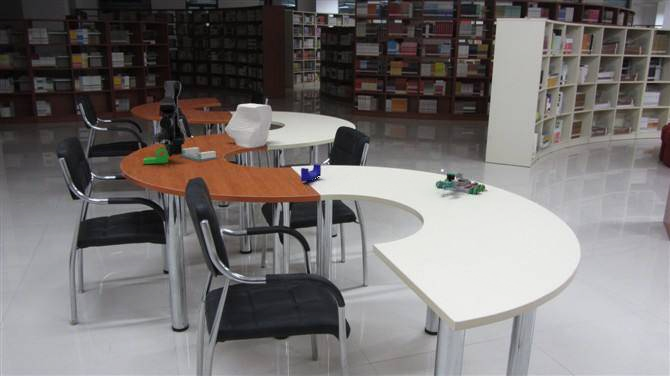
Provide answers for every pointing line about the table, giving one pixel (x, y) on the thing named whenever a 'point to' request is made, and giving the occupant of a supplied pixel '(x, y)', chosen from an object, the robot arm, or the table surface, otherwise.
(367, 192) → the table surface
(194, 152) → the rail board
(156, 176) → the table surface
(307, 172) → the cable clip
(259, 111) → the white faceted sculpture
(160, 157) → the mechanical part
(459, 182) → the robot kit
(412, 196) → the table surface
